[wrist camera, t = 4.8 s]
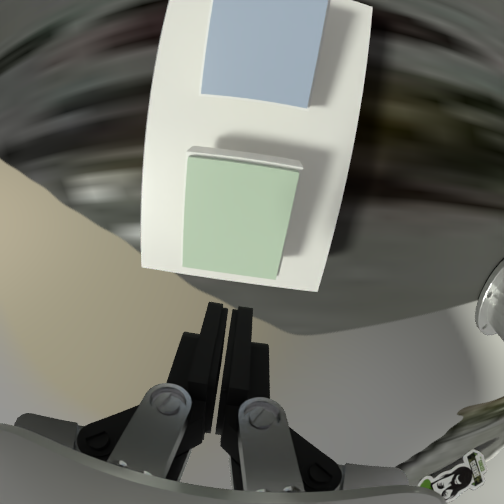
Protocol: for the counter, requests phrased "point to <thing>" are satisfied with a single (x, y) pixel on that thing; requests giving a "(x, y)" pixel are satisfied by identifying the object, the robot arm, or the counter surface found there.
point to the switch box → (252, 139)
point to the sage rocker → (237, 211)
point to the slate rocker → (263, 50)
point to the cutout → (458, 477)
